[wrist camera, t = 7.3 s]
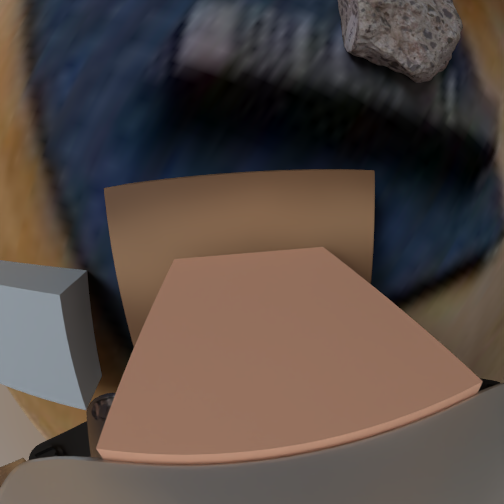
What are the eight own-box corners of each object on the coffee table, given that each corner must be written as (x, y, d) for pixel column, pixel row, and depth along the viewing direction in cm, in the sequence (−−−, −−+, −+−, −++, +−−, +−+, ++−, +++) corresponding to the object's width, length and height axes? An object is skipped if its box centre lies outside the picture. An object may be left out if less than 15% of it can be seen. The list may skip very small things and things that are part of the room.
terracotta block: (174, 259, 12) (95, 448, 3) (322, 246, 12) (482, 381, 3) (194, 379, 13) (187, 556, 5) (317, 365, 14) (394, 520, 5)
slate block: (-2, 258, 15) (-35, 277, 11) (88, 269, 16) (59, 294, 12) (19, 353, 17) (-4, 381, 13) (103, 373, 18) (86, 410, 14)
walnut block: (129, 183, 15) (103, 188, 11) (341, 169, 16) (374, 170, 13) (162, 366, 19) (153, 406, 15) (335, 348, 20) (357, 383, 16)
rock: (341, 76, 15) (373, 55, 11) (321, -47, 12) (340, -78, 8) (449, 100, 16) (488, 93, 12) (423, -15, 13) (451, -34, 9)
